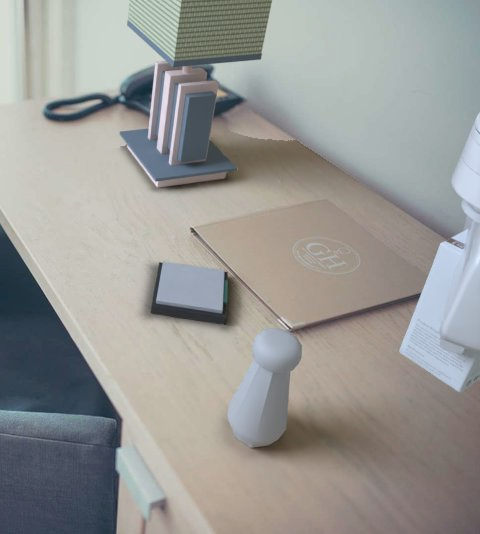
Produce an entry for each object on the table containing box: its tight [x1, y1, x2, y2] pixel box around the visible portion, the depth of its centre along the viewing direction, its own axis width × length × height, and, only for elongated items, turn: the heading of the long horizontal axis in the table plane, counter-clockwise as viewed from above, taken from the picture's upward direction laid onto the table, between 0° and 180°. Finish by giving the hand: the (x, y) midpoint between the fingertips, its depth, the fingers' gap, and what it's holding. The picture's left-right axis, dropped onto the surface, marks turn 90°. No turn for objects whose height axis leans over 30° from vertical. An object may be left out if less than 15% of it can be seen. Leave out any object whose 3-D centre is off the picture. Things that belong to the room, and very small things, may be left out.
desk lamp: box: [119, 0, 273, 189], centre depth 99 cm, size 18×14×33 cm
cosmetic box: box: [398, 229, 480, 393], centre depth 53 cm, size 6×4×12 cm
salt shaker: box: [227, 327, 303, 449], centre depth 61 cm, size 6×6×13 cm
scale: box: [150, 261, 229, 325], centre depth 81 cm, size 9×9×2 cm
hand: (455, 321), depth 54 cm, fingers closed on cosmetic box, 5 cm apart
